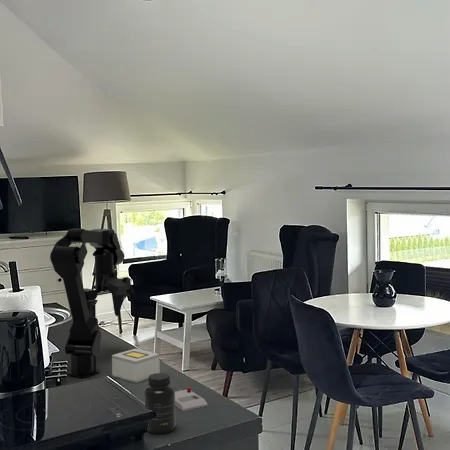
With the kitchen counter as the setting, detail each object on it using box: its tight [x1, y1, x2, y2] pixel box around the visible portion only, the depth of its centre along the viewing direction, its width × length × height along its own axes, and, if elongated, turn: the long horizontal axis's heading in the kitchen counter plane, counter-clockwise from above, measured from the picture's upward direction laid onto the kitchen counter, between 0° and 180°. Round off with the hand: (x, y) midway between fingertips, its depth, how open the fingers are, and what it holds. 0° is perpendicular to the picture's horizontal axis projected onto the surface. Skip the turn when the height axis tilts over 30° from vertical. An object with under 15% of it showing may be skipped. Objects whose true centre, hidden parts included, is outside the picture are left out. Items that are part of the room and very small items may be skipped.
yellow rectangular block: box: [126, 352, 146, 359], centre depth 176 cm, size 3×5×6 cm, turn 53°
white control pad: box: [175, 386, 209, 412], centre depth 155 cm, size 7×16×3 cm, turn 30°
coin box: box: [111, 348, 161, 384], centre depth 176 cm, size 9×10×6 cm
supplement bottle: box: [143, 372, 176, 435], centre depth 138 cm, size 7×7×12 cm
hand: (105, 318), depth 194 cm, fingers open, 9 cm apart
